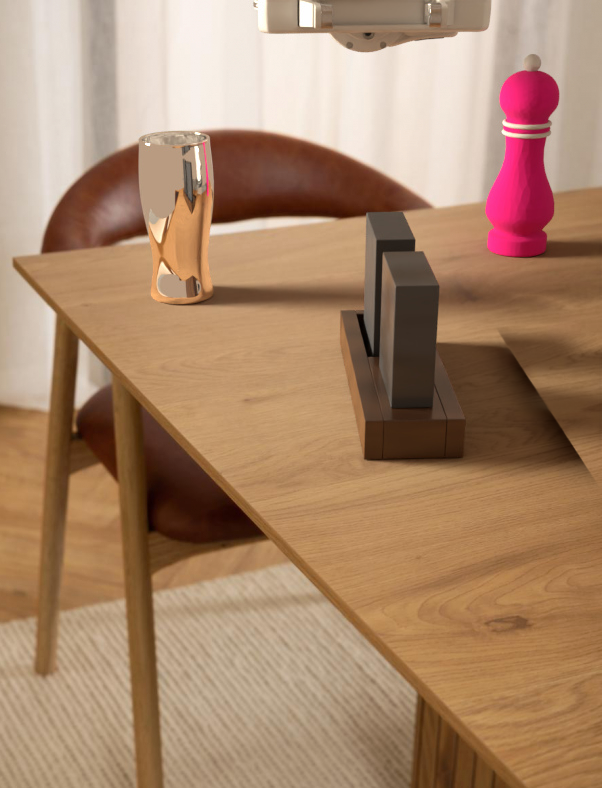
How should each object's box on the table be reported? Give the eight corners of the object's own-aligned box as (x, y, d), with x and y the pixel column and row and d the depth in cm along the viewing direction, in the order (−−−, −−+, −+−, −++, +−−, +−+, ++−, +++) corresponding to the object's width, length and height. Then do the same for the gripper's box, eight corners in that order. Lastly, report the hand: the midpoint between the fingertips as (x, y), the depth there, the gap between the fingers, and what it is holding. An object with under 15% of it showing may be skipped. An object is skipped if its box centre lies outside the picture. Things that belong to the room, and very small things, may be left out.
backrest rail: (339, 342, 104) (341, 206, 98) (419, 341, 104) (426, 205, 98) (364, 459, 83) (368, 296, 78) (463, 457, 83) (474, 294, 78)
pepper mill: (479, 239, 131) (492, 49, 122) (544, 239, 131) (562, 48, 122) (486, 258, 125) (501, 59, 116) (555, 259, 125) (575, 59, 115)
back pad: (362, 350, 102) (366, 212, 96) (397, 349, 102) (403, 211, 96) (371, 386, 95) (376, 239, 89) (409, 385, 95) (415, 239, 89)
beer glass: (131, 295, 116) (120, 138, 109) (185, 278, 120) (177, 127, 113) (178, 311, 111) (170, 149, 104) (232, 293, 116) (227, 137, 109)
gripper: (252, -37, 107) (254, -23, 95) (476, -39, 108) (506, -27, 96) (253, 37, 110) (255, 59, 98) (471, 34, 111) (500, 56, 99)
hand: (381, 17), depth 97 cm, fingers open, 8 cm apart
